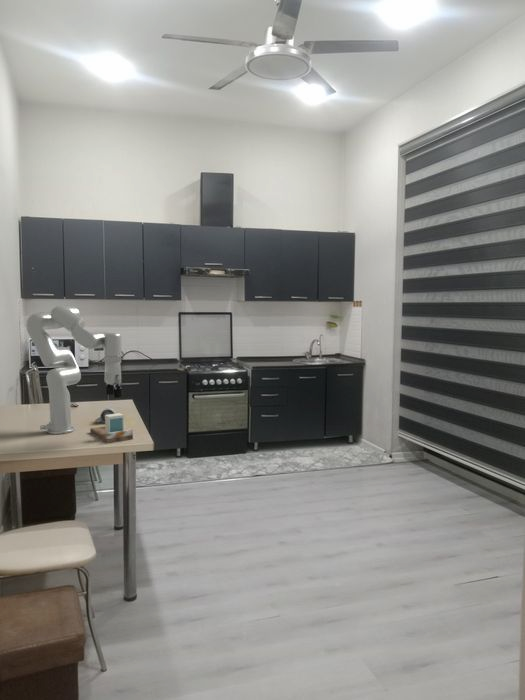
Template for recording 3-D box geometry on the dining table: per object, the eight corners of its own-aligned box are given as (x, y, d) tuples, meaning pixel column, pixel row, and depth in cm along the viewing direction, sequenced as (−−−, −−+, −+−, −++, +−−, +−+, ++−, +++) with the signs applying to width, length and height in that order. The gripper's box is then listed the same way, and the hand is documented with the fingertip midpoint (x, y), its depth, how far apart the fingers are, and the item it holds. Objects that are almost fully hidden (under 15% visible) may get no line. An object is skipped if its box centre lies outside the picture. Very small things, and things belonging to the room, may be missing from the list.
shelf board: (107, 443, 231) (107, 433, 231) (90, 432, 251) (90, 423, 250) (133, 439, 239) (132, 429, 238) (114, 429, 258) (114, 420, 258)
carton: (105, 433, 241) (104, 414, 240) (119, 431, 245) (119, 413, 244) (109, 436, 237) (108, 416, 236) (123, 433, 241) (123, 414, 240)
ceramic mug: (116, 419, 279) (115, 406, 278) (115, 423, 271) (114, 409, 270) (96, 421, 276) (95, 407, 276) (94, 424, 268) (93, 410, 268)
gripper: (98, 358, 242) (99, 393, 244) (111, 361, 228) (112, 399, 230) (114, 357, 247) (114, 392, 248) (127, 360, 233) (128, 397, 234)
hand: (113, 395), depth 239 cm, fingers open, 9 cm apart
